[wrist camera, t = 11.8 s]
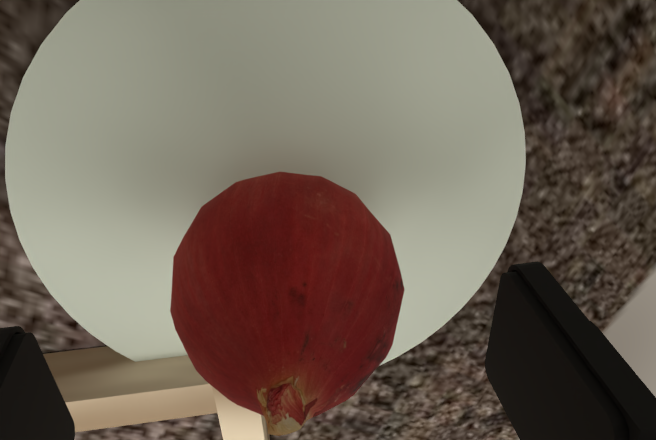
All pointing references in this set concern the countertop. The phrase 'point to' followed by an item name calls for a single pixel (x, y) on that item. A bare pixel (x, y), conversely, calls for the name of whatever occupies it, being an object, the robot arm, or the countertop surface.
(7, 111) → the countertop surface
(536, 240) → the countertop surface
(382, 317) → the onion
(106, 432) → the countertop surface
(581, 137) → the countertop surface
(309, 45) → the plate
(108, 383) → the frame
